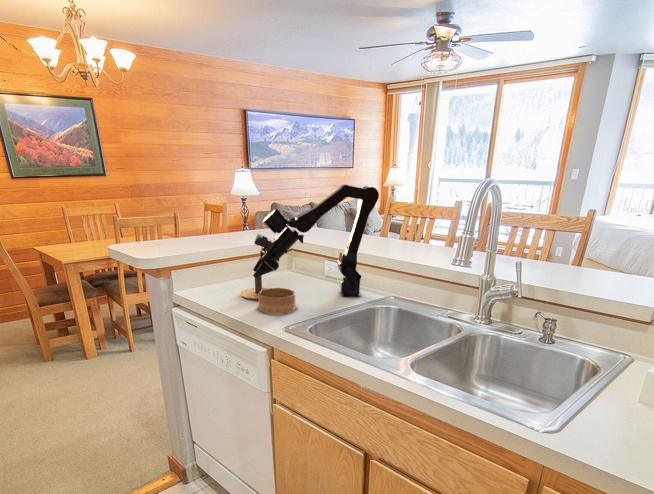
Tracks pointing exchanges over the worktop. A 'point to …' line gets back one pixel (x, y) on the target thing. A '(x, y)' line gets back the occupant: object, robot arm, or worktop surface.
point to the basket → (276, 300)
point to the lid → (253, 289)
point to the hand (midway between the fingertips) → (253, 273)
